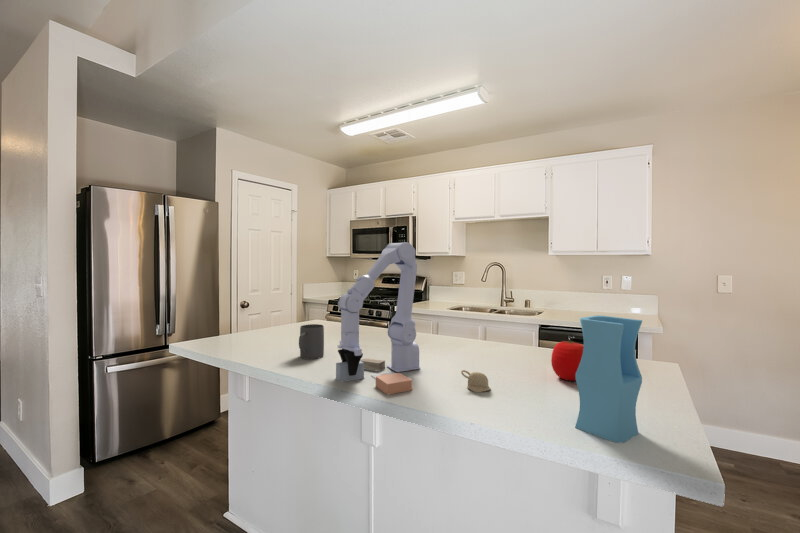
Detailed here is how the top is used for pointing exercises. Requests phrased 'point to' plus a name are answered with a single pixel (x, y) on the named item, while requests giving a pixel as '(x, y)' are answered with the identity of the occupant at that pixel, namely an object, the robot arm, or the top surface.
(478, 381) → the decorative ornament
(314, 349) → the mug
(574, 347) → the tomato
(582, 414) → the vase
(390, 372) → the page
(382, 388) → the base brick
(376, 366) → the brick
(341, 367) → the top brick
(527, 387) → the top surface
